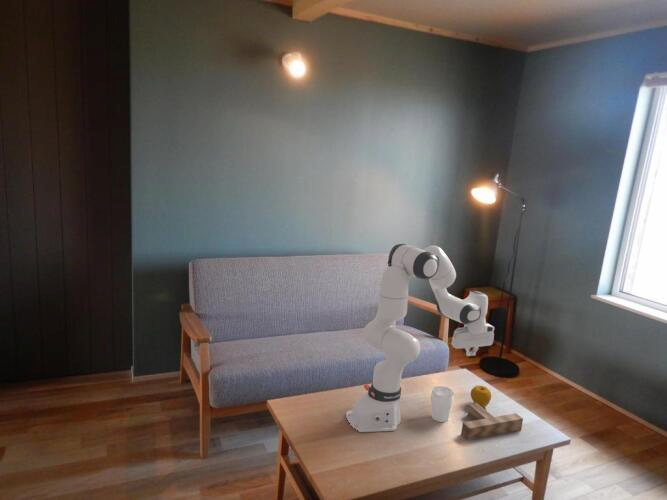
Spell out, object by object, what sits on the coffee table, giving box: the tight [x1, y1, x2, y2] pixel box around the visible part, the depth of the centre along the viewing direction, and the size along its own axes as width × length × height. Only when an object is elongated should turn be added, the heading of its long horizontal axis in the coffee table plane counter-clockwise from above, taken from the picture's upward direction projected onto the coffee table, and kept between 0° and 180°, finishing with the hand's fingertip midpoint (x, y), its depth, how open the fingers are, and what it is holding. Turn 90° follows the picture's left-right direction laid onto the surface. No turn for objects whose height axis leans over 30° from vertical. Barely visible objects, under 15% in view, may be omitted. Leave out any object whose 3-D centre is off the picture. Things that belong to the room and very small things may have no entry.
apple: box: [470, 385, 492, 408], centre depth 200 cm, size 9×8×9 cm
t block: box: [460, 402, 524, 441], centre depth 186 cm, size 26×15×5 cm, turn 110°
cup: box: [430, 385, 455, 423], centre depth 188 cm, size 9×9×12 cm
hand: (470, 355), depth 206 cm, fingers closed
